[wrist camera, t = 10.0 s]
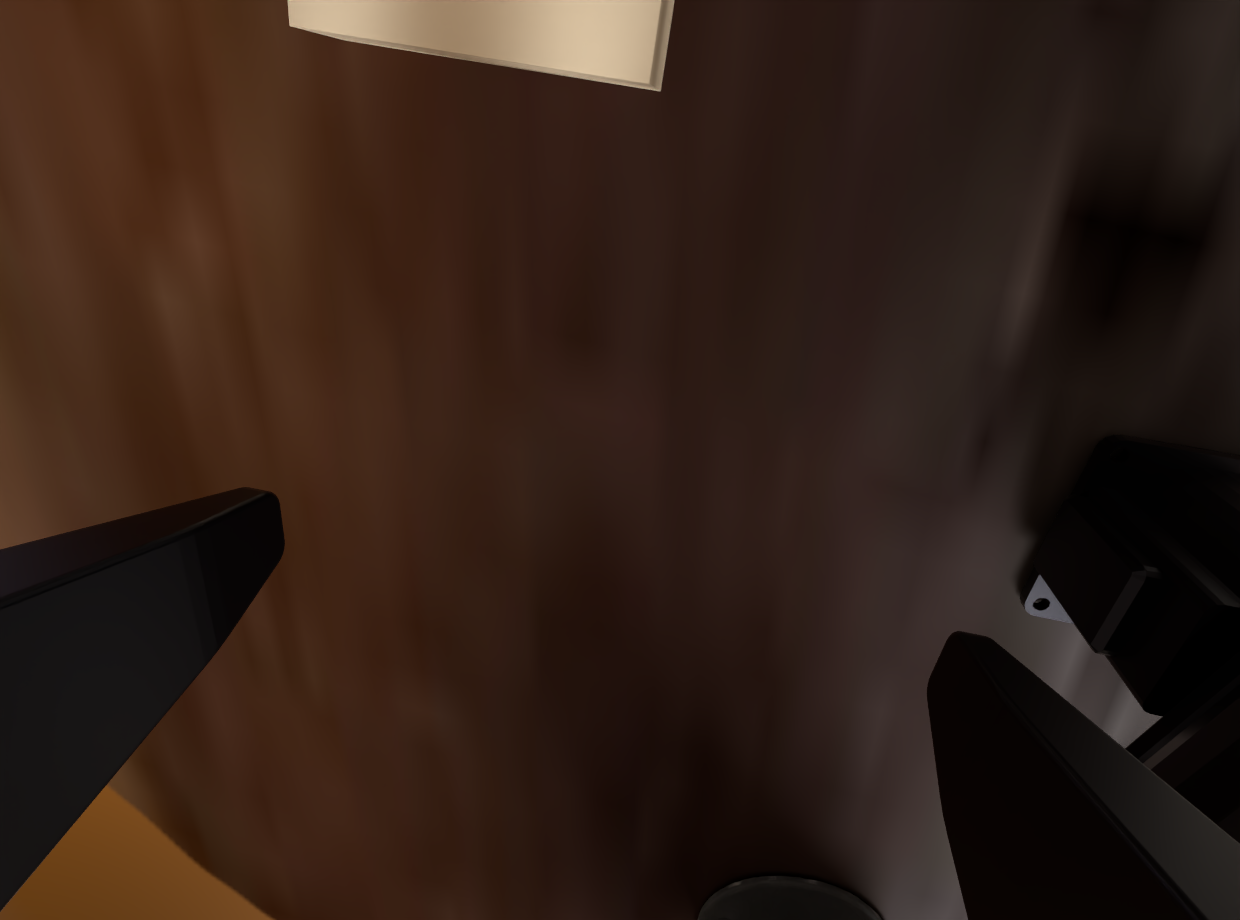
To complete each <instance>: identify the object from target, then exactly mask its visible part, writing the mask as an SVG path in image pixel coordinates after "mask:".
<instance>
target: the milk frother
mask: <svg viewBox="0 0 1240 920" xmlns="http://www.w3.org/2000/svg"><path fill="white" fill-rule="evenodd" d="M698 920H882V919H881V918H880V916H879V915H878V914H877V913H876V912H874V910H873V909H872V908H871V907H870V906H868V905H867V904H865V903H864V902H863V901H862V900H860V899H859V898H858V897H856V896H854V895H853V894H851V893H849V892H847V891H845V890H842V889H841V888H838V887H836V886H833V885H830V884H827V883H824V882H821V881H817V880H810V879H803V878H800V877H789V876H761V877H753V878H750V879H744V880H741V881H739V882H734V883H732V884H730V885H728V886H726V887H725V888H723V889H720V890H719V891H718V892H716V893H715V894H713V895H712V896H711V897H710V898H709V899H708V900H707V901H706V903H705V904H704V905H703V907H702V908H701V911H700V913H699V918H698Z"/></svg>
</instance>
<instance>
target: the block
mask: <svg viewBox="0 0 1240 920" xmlns="http://www.w3.org/2000/svg"><path fill="white" fill-rule="evenodd" d="M673 7H674V0H288V10H289V24H290V26H292V27H295V28H299V29H303V30H307V31H311V32H315V33H318V34H322V35H326V36H330V37H334V38H337V39H341V40H346V41H352V42H358V43H364V44H370V45H377V46H383V47H389V48H395V49H401V50H408V51H414V52H420V53H426V54H432V55H438V56H445V57H451V58H457V59H463V60H469V61H476V62H482V63H488V64H494V65H500V66H507V67H513V68H519V69H525V70H531V71H538V72H544V73H550V74H556V75H562V76H569V77H575V78H581V79H587V80H593V81H600V82H606V83H612V84H618V85H624V86H631V87H637V88H643V89H649V90H655V91H661V85H662V78H663V72H664V65H665V59H666V52H667V46H668V39H669V33H670V26H671V20H672V13H673Z"/></svg>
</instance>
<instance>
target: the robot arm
mask: <svg viewBox="0 0 1240 920" xmlns="http://www.w3.org/2000/svg"><path fill="white" fill-rule="evenodd" d="M1118 448H1123V451H1122V453H1121V454H1120V455H1119V456H1117V457H1115V458H1110V455H1111V453H1112V452H1113V451H1114V450H1116V449H1118ZM284 546H285V540H284V532H283V525H282V517H281V510H280V503H279V500H278V498H277V496H276V495H275V494H274V493H272V492H269V491H264V490H259V489H254V488H249V487H243V488H238V489H234V490H230V491H226V492H222V493H219V494H215V495H211V496H207V497H203V498H199V499H195V500H191V501H187V502H184V503H180V504H176V505H172V506H168V507H164V508H160V509H156V510H152V511H149V512H145V513H141V514H137V515H133V516H129V517H125V518H121V519H117V520H114V521H110V522H106V523H102V524H98V525H94V526H90V527H86V528H82V529H79V530H75V531H71V532H67V533H63V534H59V535H55V536H51V537H47V538H44V539H40V540H36V541H32V542H28V543H24V544H20V545H16V546H13V547H9V548H5V549H1V550H0V912H1V910H2V909H3V907H5V905H6V904H7V903H8V902H9V901H10V899H11V898H12V897H13V896H14V895H15V894H16V892H17V891H18V890H19V889H20V888H21V886H22V885H23V884H24V883H25V882H26V880H27V879H28V878H29V877H30V876H31V874H32V873H33V872H34V871H35V870H36V868H37V867H38V866H39V865H40V864H41V862H42V861H43V860H44V859H45V858H46V856H47V855H48V854H49V853H50V852H51V850H52V849H53V848H54V847H55V846H56V844H57V843H58V842H59V841H60V840H61V838H62V837H63V836H64V835H65V834H66V833H67V831H68V830H69V829H70V828H71V827H72V825H73V824H74V823H75V822H76V821H77V819H78V818H79V817H80V816H81V815H82V813H83V812H84V811H85V810H86V809H87V807H88V806H89V805H90V804H91V803H92V801H93V800H94V799H95V798H96V797H97V795H98V794H99V793H100V792H101V791H102V789H103V788H104V787H105V786H106V785H107V784H108V782H109V781H110V780H111V779H112V778H113V776H114V775H115V774H116V773H117V772H118V770H119V769H120V768H121V767H122V766H123V764H124V763H125V762H126V761H127V760H128V758H129V757H130V756H131V755H132V754H133V752H134V751H135V750H136V749H137V748H138V746H139V745H140V744H141V743H142V742H143V740H144V739H145V738H146V737H147V736H148V734H149V733H150V732H151V731H152V730H153V728H154V727H155V726H156V725H157V724H158V723H159V721H160V720H161V719H162V718H163V717H164V715H165V714H166V713H167V712H168V711H169V709H170V708H171V707H172V706H173V705H174V703H175V702H176V701H177V700H178V699H179V697H180V696H181V695H182V694H183V693H184V691H185V690H186V689H187V688H188V687H189V685H190V684H191V683H192V682H193V681H194V679H195V678H196V677H197V676H198V675H199V673H200V672H201V671H202V670H203V669H204V667H205V666H206V665H207V664H208V663H209V661H210V660H211V659H212V657H213V656H214V655H215V654H216V652H217V651H218V650H219V648H220V647H221V646H222V644H223V643H224V642H225V640H226V639H227V637H228V636H229V635H230V633H231V632H232V630H233V629H234V627H235V626H236V624H237V623H238V621H239V620H240V619H241V617H242V616H243V614H244V613H245V611H246V610H247V608H248V607H249V605H250V604H251V602H252V601H253V599H254V598H255V596H256V595H257V594H258V592H259V591H260V589H261V588H262V586H263V585H264V583H265V582H266V580H267V579H268V577H269V576H270V574H271V573H272V571H273V570H274V569H275V567H276V566H277V564H278V563H279V561H280V559H281V557H282V555H283V551H284ZM1033 565H1034V569H1033V571H1032V573H1031V575H1030V577H1029V579H1028V581H1027V583H1026V585H1025V587H1024V589H1023V591H1022V593H1021V596H1020V600H1021V603H1022V605H1023V606H1024V608H1025V610H1026V611H1027V612H1028V613H1029V614H1031V615H1034V616H1038V617H1043V618H1048V619H1053V620H1058V621H1063V622H1068V623H1073V624H1074V625H1075V626H1076V627H1077V629H1078V630H1079V632H1080V633H1081V635H1082V636H1083V638H1084V639H1085V640H1086V642H1087V643H1088V645H1089V646H1090V648H1091V649H1092V650H1093V651H1094V652H1095V653H1098V654H1103V655H1105V656H1106V658H1107V659H1108V661H1109V662H1110V663H1111V665H1112V666H1113V668H1114V669H1115V670H1116V672H1117V673H1118V675H1119V676H1120V677H1121V679H1122V680H1123V682H1124V683H1125V684H1126V686H1127V687H1128V689H1129V690H1130V691H1131V693H1132V694H1133V696H1134V697H1135V698H1136V700H1137V701H1138V703H1139V704H1140V705H1141V707H1142V708H1143V710H1144V711H1145V712H1147V713H1150V714H1154V715H1158V716H1163V717H1162V718H1160V719H1159V720H1158V721H1157V722H1156V723H1155V724H1153V725H1152V726H1151V727H1150V728H1149V729H1148V730H1146V731H1145V732H1144V733H1143V734H1142V735H1141V736H1139V737H1138V738H1137V739H1136V740H1135V741H1133V742H1132V743H1131V744H1130V745H1129V746H1128V747H1126V748H1123V747H1122V746H1121V745H1120V744H1118V743H1117V742H1116V741H1115V740H1114V739H1112V738H1111V737H1110V736H1109V735H1108V734H1106V733H1105V732H1104V731H1103V730H1102V729H1100V728H1099V727H1098V726H1097V725H1095V724H1094V723H1093V722H1092V721H1091V720H1089V719H1088V718H1087V717H1086V716H1085V715H1083V714H1082V713H1081V712H1080V711H1079V710H1077V709H1076V708H1075V707H1074V706H1072V705H1071V704H1070V703H1069V702H1068V701H1066V700H1065V699H1064V698H1063V697H1062V696H1060V695H1059V694H1058V693H1057V692H1056V691H1054V690H1053V689H1052V688H1051V687H1049V686H1048V685H1047V684H1046V683H1045V682H1043V681H1042V680H1041V679H1040V678H1039V677H1037V676H1036V675H1035V674H1034V673H1033V672H1031V671H1030V670H1029V669H1028V668H1027V667H1025V666H1024V665H1023V664H1022V663H1020V662H1019V661H1018V660H1017V659H1016V658H1014V657H1013V656H1012V655H1011V654H1010V653H1008V652H1007V651H1006V650H1005V649H1004V648H1002V647H1001V646H1000V645H999V644H997V643H996V642H995V641H994V640H992V639H991V638H989V637H986V636H982V635H977V634H972V633H967V632H962V631H957V632H954V633H952V634H951V635H950V636H949V638H948V639H947V641H946V643H945V645H944V647H943V650H942V652H941V654H940V656H939V658H938V660H937V663H936V665H935V667H934V669H933V671H932V673H931V676H930V678H929V682H928V687H927V701H928V708H929V716H930V724H931V731H932V739H933V747H934V754H935V762H936V770H937V777H938V785H939V792H940V799H941V805H942V812H943V817H944V822H945V826H946V831H947V835H948V839H949V843H950V847H951V852H952V856H953V860H954V864H955V868H956V872H957V876H958V880H959V884H960V888H961V892H962V896H963V900H964V904H965V908H966V912H967V916H968V920H1240V455H1234V454H1228V453H1222V452H1217V451H1211V450H1205V449H1199V448H1193V447H1188V446H1182V445H1176V444H1170V443H1164V442H1159V441H1153V440H1147V439H1141V438H1135V437H1130V436H1124V435H1112V436H1109V437H1106V438H1104V439H1103V440H1101V441H1100V442H1099V443H1098V444H1097V446H1096V447H1095V449H1094V451H1093V453H1092V455H1091V457H1090V459H1089V461H1088V463H1087V465H1086V467H1085V469H1084V471H1083V473H1082V475H1081V477H1080V479H1079V481H1078V482H1077V484H1076V486H1075V488H1074V490H1073V492H1072V494H1071V496H1070V497H1068V498H1067V499H1066V500H1065V501H1064V502H1063V504H1062V506H1061V508H1060V510H1059V512H1058V514H1057V516H1056V518H1055V520H1054V522H1053V524H1052V526H1051V528H1050V530H1049V532H1048V534H1047V536H1046V538H1045V540H1044V542H1043V544H1042V546H1041V548H1040V550H1039V552H1038V554H1037V556H1036V558H1035V560H1034V562H1033ZM1039 598H1044V599H1043V601H1041V602H1039V603H1033V602H1034V601H1035V600H1036V599H1039Z"/></svg>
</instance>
